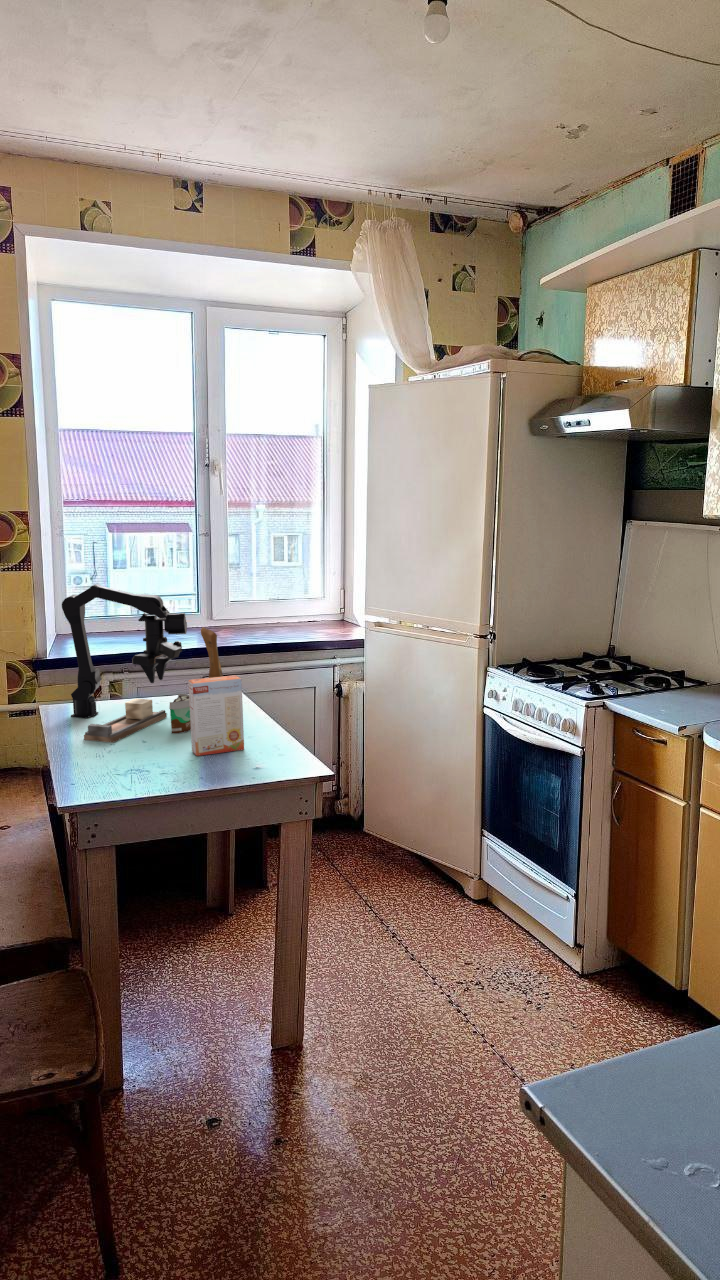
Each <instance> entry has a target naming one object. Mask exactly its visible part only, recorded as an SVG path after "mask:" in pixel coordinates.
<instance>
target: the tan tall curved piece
mask: <svg viewBox="0 0 720 1280" xmlns="http://www.w3.org/2000/svg"><path fill="white" fill-rule="evenodd" d="M200 635H201V637H202V639H203V641H204V644H205V648H206V650H207V654H208V659H209V670H208V677H207V678H213V677H223V676H224V675H223V670H222V666H221V662H220V658H219V650H218V635H217V633H216V632H214V631H213V630H212V629H208V628H206V627H204V626H202V628H201V629H200Z"/></svg>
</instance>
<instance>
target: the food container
mask: <svg viewBox="0 0 720 1280" xmlns="http://www.w3.org/2000/svg"><path fill="white" fill-rule="evenodd" d="M169 714H170V727H171V734H173V735H174V734H183V733H188V732H191V723H190V704H189V693H177V697H176V698H175V699H173V701H170V702H169Z"/></svg>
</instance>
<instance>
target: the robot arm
mask: <svg viewBox="0 0 720 1280" xmlns="http://www.w3.org/2000/svg"><path fill="white" fill-rule="evenodd" d="M95 599H100V600H104V601H109V602H113V603H117V604H121V605H126V606H130V607H132V608H135V609H136V610H138V611H140V612H142V615H141V617H139V619H137V620H138V622H144V629H145V630H144V632H145V637H143V638H142V641H143V642H145V650H143V653H139V654H135V655H133V657H132V658H131V660H132V661H131V662H132V664H131V665H138V666H140V667H141V669H142V670H143V672H144V674H145V675H146V678H147V680H148V681H149V683H151V684H154V683H155V676H156V675H157V678H158V680H159V681H162V680H163V679H164V675H165V672H166V668H167V664H168V663H169V662H170V661H172V660H173V659H175V658H179V656H180V653H182V652H183V646H182V642H181V641H180V640H176V641H173V642H169V641H168V638H167V636H165V635H164V631H165V632H166V633H167V634H168V635H187V633H188V632H187V631H188V622H187V619H186V618H187V617H186V613H185V612H180V613H170V611H169V610H168V608H166V606H165V605H164V600H163V599H162V597H161V596H159V595H157V594H146V593H145V594H138V593H136V594H135V593H133V592H128V591H123V590H120V589H115V588H113V587H112V588H111V587H108V586H103V585H101V584H98V583H97V584H93V585H91V586H90V587H88V589H86V590H84V591H82V592H81V593H79V594H72V595H69V596H67V597H66V598H64V599H63V600H62V602H61V609H62V611H63V612H62V613H63V615H64V617H65V619H66V620H67V622H68V624H69V625H70V630H71V634H72V639H73V640H72V641H73V644H74V650H75V654H76V655H75V656H76V660H77V667H78V671H77V687H76V689H74V691H72V693H71V694H70V697H71V699H72V706H73V714H71V715H70V718H79V719H80V718H81V719H89V718H92V717H94V716H97V715H99V712H98V711H97V702H96V700H95V696H93V695H94V693H95V692H96V690H98V689H99V687H100V685H101V681H102V680H103V679H102V677H101V671H100V669H101V668H99V667H97V668H95V666H94V664H93V661H92V657H91V656H92V655H91V650H90V645H89V641H88V637H87V636H88V635H87V631H86V625H85V616H86V604H88V603H90V602H91V601H92V600H95ZM155 674H156V675H155Z"/></svg>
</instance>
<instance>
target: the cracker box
mask: <svg viewBox="0 0 720 1280" xmlns="http://www.w3.org/2000/svg"><path fill="white" fill-rule="evenodd" d="M242 680H243V679H242V678H241V677H240V676H237V675H235V674H234V675H227V676H226V675H225V676H224V675H223V677H213V678H208V677H205V678H195V679H189V680H188V695H189V704H190V723H191V730H190V739H191V751H192V753H193V754H194V755H195V756H196V757H200V756H207V755H213V754H214V755H215V754H223V753H228V752H229V753H230V752H237V751H243V750H245V738H244V737H245V734H244V709H243V683H242Z"/></svg>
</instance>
